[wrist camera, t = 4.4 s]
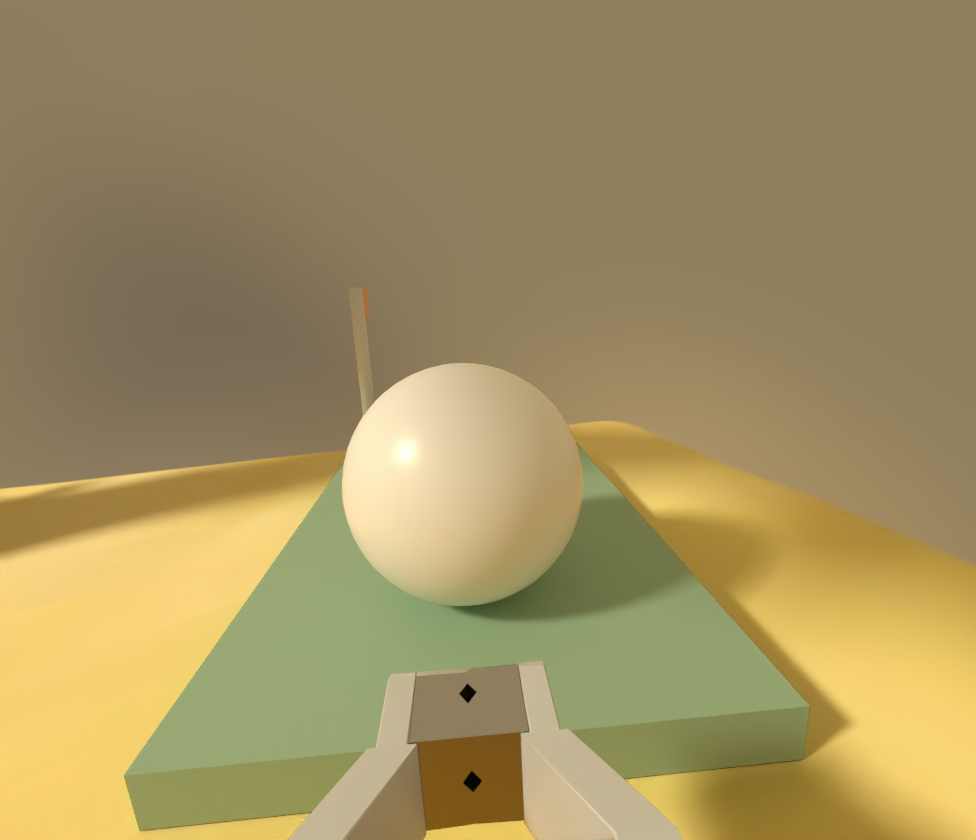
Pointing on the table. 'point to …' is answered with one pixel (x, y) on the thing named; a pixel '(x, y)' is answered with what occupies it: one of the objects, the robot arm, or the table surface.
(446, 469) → the ball
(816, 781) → the table surface
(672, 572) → the putting mat
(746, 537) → the table surface
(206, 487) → the table surface
